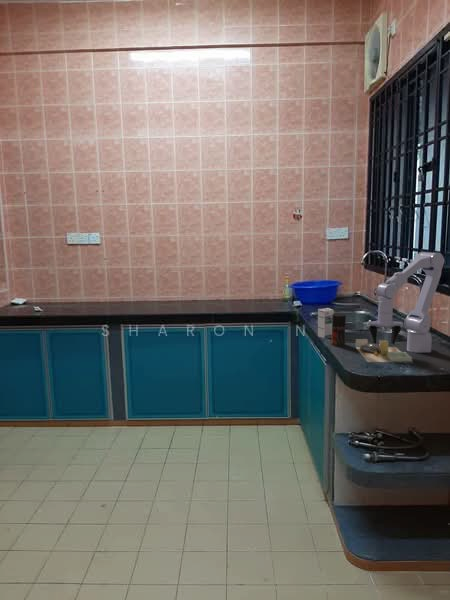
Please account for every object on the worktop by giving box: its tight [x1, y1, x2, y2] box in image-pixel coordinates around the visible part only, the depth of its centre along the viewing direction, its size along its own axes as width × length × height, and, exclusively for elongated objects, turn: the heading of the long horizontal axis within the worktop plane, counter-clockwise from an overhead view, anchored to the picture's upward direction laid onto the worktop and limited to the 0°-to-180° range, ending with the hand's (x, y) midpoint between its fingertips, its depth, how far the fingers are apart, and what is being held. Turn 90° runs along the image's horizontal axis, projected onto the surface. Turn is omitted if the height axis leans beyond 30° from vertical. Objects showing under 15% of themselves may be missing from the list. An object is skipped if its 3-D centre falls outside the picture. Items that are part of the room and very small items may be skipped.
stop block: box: [378, 339, 390, 356], centre depth 187 cm, size 3×3×6 cm
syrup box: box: [317, 307, 335, 339], centre depth 220 cm, size 6×6×14 cm
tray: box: [386, 351, 413, 363], centre depth 181 cm, size 8×8×2 cm
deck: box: [355, 346, 402, 363], centre depth 188 cm, size 18×22×1 cm
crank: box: [354, 338, 379, 355], centre depth 193 cm, size 13×12×4 cm
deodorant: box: [331, 313, 347, 347], centre depth 203 cm, size 6×6×15 cm
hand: (383, 343), depth 186 cm, fingers open, 7 cm apart
